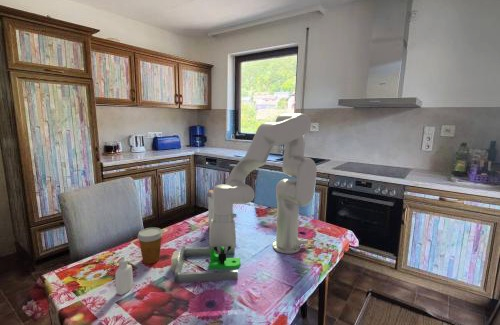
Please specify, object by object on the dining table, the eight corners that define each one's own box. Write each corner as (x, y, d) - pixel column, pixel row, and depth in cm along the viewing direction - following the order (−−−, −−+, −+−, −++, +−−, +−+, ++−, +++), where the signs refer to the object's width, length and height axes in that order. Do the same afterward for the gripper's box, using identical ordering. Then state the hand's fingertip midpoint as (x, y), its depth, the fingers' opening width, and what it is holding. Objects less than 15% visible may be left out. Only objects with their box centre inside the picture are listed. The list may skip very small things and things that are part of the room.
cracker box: (228, 236, 130) (229, 195, 127) (217, 238, 127) (217, 196, 124) (218, 226, 142) (218, 188, 139) (208, 228, 139) (207, 189, 136)
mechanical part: (209, 270, 101) (209, 251, 100) (210, 262, 107) (210, 244, 106) (240, 270, 101) (240, 251, 100) (240, 262, 107) (240, 244, 106)
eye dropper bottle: (113, 290, 87) (111, 256, 85) (131, 283, 91) (129, 251, 89) (118, 296, 84) (115, 262, 82) (136, 289, 88) (134, 256, 86)
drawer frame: (234, 252, 114) (234, 241, 113) (237, 279, 94) (237, 266, 94) (176, 255, 111) (176, 243, 110) (167, 283, 91) (167, 269, 91)
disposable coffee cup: (157, 251, 113) (156, 225, 112) (167, 260, 107) (166, 232, 105) (134, 259, 107) (133, 231, 105) (144, 268, 100) (143, 239, 98)
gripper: (241, 213, 105) (240, 256, 108) (203, 214, 103) (203, 257, 106) (243, 220, 97) (242, 266, 100) (202, 221, 96) (202, 267, 98)
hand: (222, 261), depth 103 cm, fingers closed
